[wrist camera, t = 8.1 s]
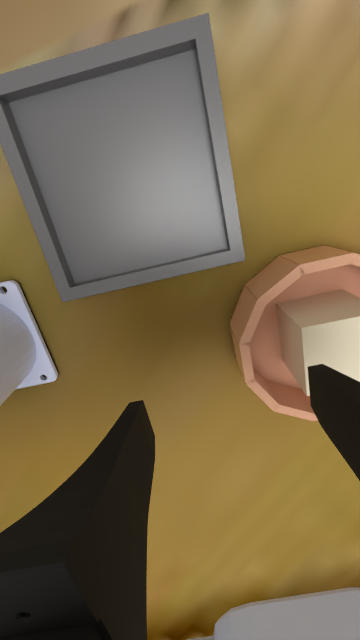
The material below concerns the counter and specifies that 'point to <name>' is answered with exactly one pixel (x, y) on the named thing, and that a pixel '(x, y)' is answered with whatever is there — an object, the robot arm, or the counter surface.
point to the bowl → (262, 324)
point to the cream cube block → (320, 334)
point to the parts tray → (124, 159)
